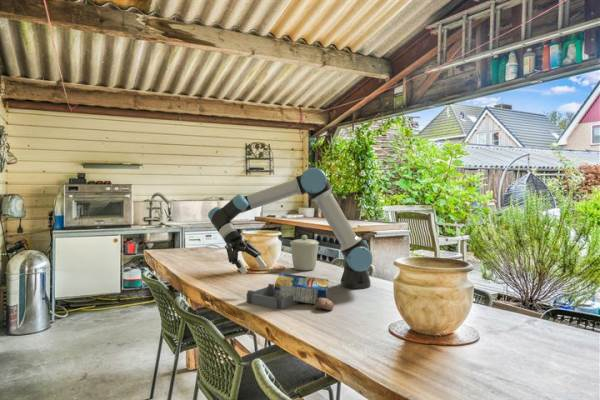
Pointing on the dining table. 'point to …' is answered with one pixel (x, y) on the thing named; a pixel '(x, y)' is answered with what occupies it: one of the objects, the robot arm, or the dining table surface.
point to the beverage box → (301, 287)
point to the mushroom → (324, 304)
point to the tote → (269, 298)
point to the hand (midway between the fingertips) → (255, 270)
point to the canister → (304, 253)
